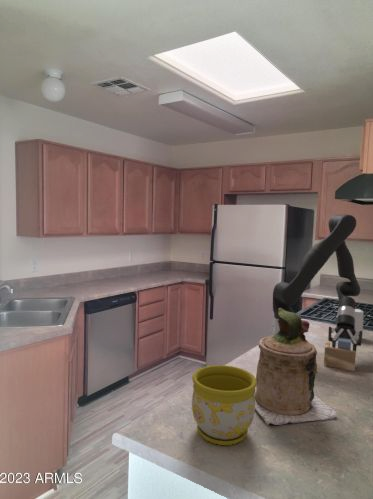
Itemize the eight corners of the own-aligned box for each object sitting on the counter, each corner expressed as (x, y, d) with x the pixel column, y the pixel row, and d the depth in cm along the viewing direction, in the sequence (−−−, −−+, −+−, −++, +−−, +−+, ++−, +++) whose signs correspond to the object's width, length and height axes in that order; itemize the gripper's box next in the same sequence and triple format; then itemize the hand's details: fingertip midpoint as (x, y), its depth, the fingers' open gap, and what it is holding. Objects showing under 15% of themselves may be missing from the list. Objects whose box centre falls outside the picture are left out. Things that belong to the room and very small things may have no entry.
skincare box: (358, 337, 198) (360, 308, 197) (362, 341, 192) (364, 311, 191) (342, 336, 199) (343, 308, 198) (346, 340, 193) (348, 311, 191)
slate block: (336, 365, 157) (338, 340, 157) (337, 361, 162) (338, 337, 161) (349, 367, 155) (350, 342, 154) (349, 363, 160) (351, 339, 159)
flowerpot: (177, 431, 105) (179, 375, 104) (218, 409, 118) (220, 360, 116) (226, 462, 92) (229, 399, 91) (266, 434, 105) (269, 378, 103)
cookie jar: (268, 428, 108) (273, 322, 105) (235, 390, 131) (239, 302, 129) (339, 419, 114) (346, 318, 112) (296, 384, 138) (300, 300, 135)
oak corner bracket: (325, 357, 167) (326, 340, 166) (354, 362, 162) (355, 344, 162) (323, 365, 157) (324, 347, 156) (354, 371, 152) (355, 352, 151)
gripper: (329, 311, 167) (325, 344, 157) (364, 316, 161) (363, 350, 151) (329, 320, 172) (325, 352, 162) (363, 324, 166) (361, 358, 156)
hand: (343, 351), depth 157 cm, fingers open, 7 cm apart
